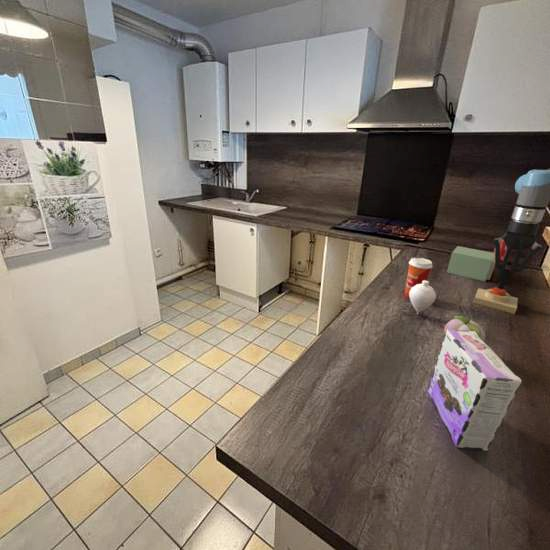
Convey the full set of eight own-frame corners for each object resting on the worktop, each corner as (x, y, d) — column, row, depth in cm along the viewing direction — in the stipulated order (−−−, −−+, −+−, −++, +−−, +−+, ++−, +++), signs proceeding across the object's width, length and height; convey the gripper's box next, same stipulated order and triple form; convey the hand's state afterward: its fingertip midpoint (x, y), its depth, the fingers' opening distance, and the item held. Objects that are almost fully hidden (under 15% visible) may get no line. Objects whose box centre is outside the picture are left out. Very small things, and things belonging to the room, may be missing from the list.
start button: (505, 294, 103) (506, 289, 103) (504, 297, 100) (506, 293, 100) (491, 290, 106) (493, 286, 105) (490, 294, 103) (492, 289, 102)
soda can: (510, 262, 145) (518, 239, 140) (504, 265, 141) (513, 241, 137) (494, 258, 150) (502, 236, 146) (488, 260, 147) (496, 237, 142)
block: (515, 303, 105) (519, 293, 103) (514, 314, 97) (519, 303, 96) (476, 293, 112) (479, 283, 110) (473, 302, 104) (476, 292, 103)
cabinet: (488, 273, 131) (495, 253, 127) (485, 281, 122) (492, 260, 118) (451, 265, 139) (457, 246, 136) (446, 272, 130) (452, 252, 127)
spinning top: (431, 323, 91) (441, 288, 86) (405, 317, 93) (413, 283, 88) (428, 311, 97) (437, 278, 93) (404, 306, 100) (411, 274, 95)
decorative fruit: (487, 358, 76) (500, 325, 72) (462, 363, 73) (474, 330, 69) (456, 337, 84) (467, 307, 80) (434, 341, 82) (443, 310, 78)
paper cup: (398, 291, 111) (406, 256, 105) (418, 291, 111) (427, 257, 105) (406, 300, 104) (415, 264, 98) (427, 301, 104) (437, 265, 98)
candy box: (425, 390, 65) (445, 327, 58) (453, 392, 64) (476, 330, 58) (455, 448, 52) (484, 376, 45) (489, 452, 52) (524, 380, 45)
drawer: (503, 275, 127) (509, 258, 124) (501, 283, 119) (508, 265, 116) (457, 264, 137) (462, 249, 134) (453, 271, 129) (458, 255, 126)
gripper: (499, 219, 94) (477, 285, 103) (552, 226, 86) (524, 297, 96) (501, 216, 99) (480, 279, 108) (551, 222, 92) (524, 289, 101)
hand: (500, 287), depth 102 cm, fingers closed
